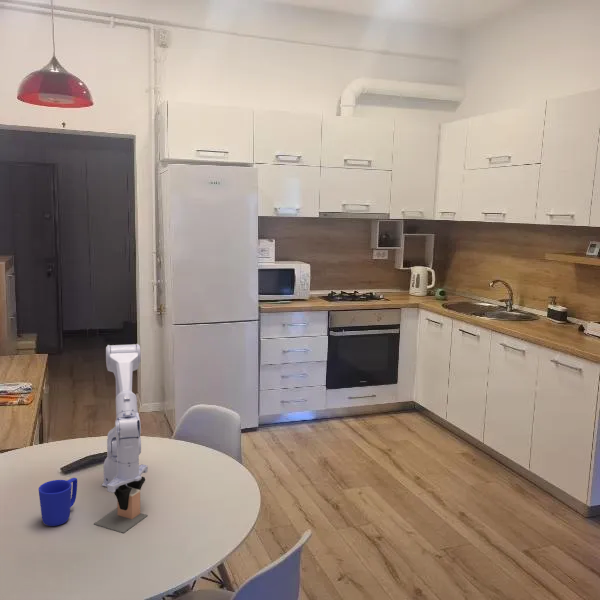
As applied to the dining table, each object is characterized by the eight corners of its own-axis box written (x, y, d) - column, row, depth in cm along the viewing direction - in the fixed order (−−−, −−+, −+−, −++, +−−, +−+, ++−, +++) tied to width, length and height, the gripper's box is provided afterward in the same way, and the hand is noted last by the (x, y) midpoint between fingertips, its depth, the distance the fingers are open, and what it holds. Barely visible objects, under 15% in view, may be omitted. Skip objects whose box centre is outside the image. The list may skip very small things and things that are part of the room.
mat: (93, 524, 157) (93, 523, 157) (118, 507, 166) (118, 506, 166) (123, 533, 153) (123, 532, 153) (147, 515, 162) (147, 514, 162)
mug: (88, 510, 164) (87, 476, 163) (57, 531, 153) (56, 496, 151) (64, 504, 167) (63, 471, 165) (32, 525, 156) (31, 490, 154)
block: (117, 515, 162) (117, 491, 161) (125, 509, 165) (125, 486, 164) (132, 519, 160) (131, 495, 159) (140, 513, 163) (140, 489, 162)
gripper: (122, 472, 152) (122, 521, 154) (156, 452, 165) (156, 497, 167) (100, 467, 155) (101, 515, 157) (136, 448, 168) (136, 492, 170)
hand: (128, 505), depth 162 cm, fingers closed on block, 3 cm apart
